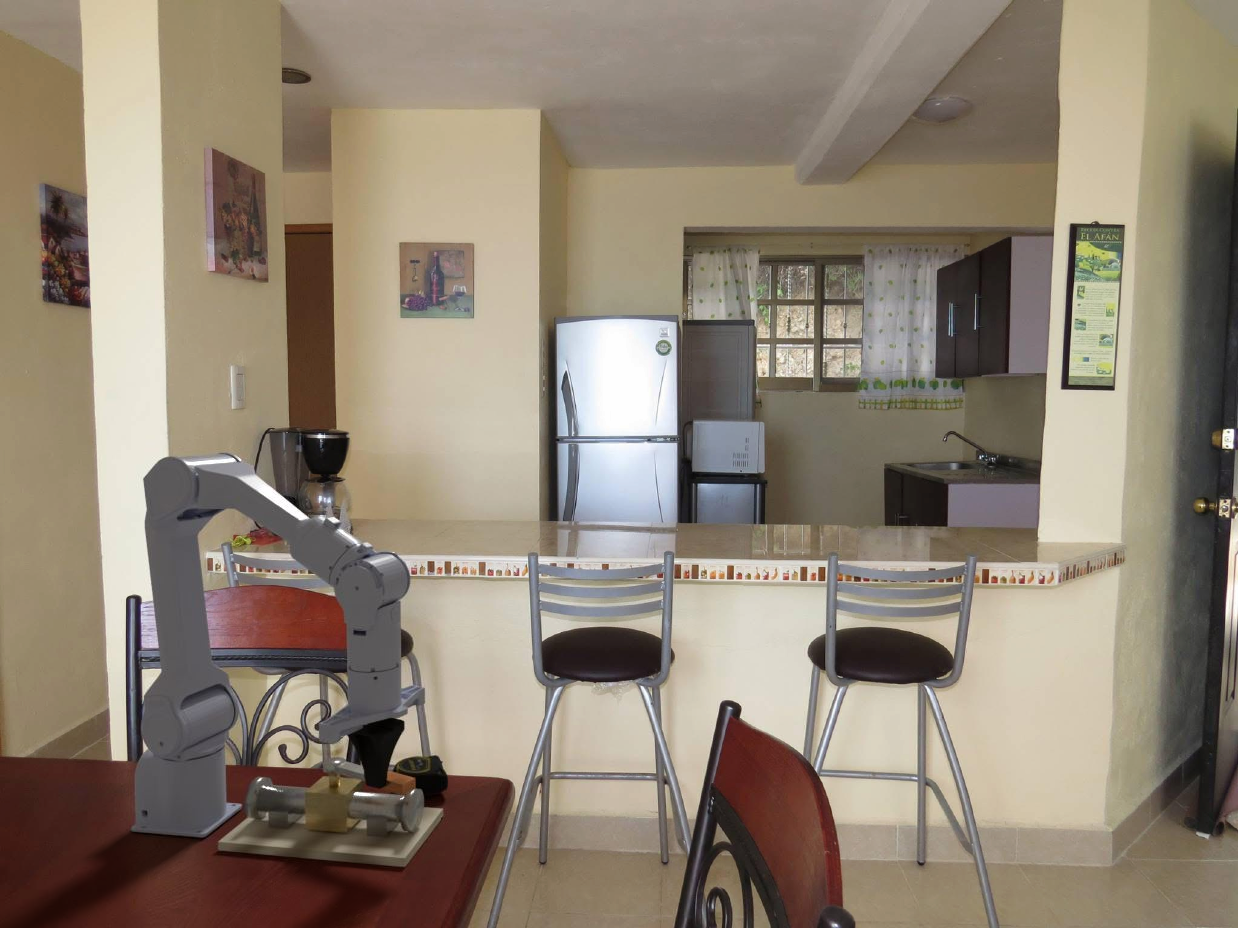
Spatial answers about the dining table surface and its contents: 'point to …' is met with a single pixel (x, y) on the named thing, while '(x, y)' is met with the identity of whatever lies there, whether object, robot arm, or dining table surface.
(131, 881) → the dining table surface
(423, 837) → the board
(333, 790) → the ball valve
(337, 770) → the valve lever
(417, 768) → the tape measure
